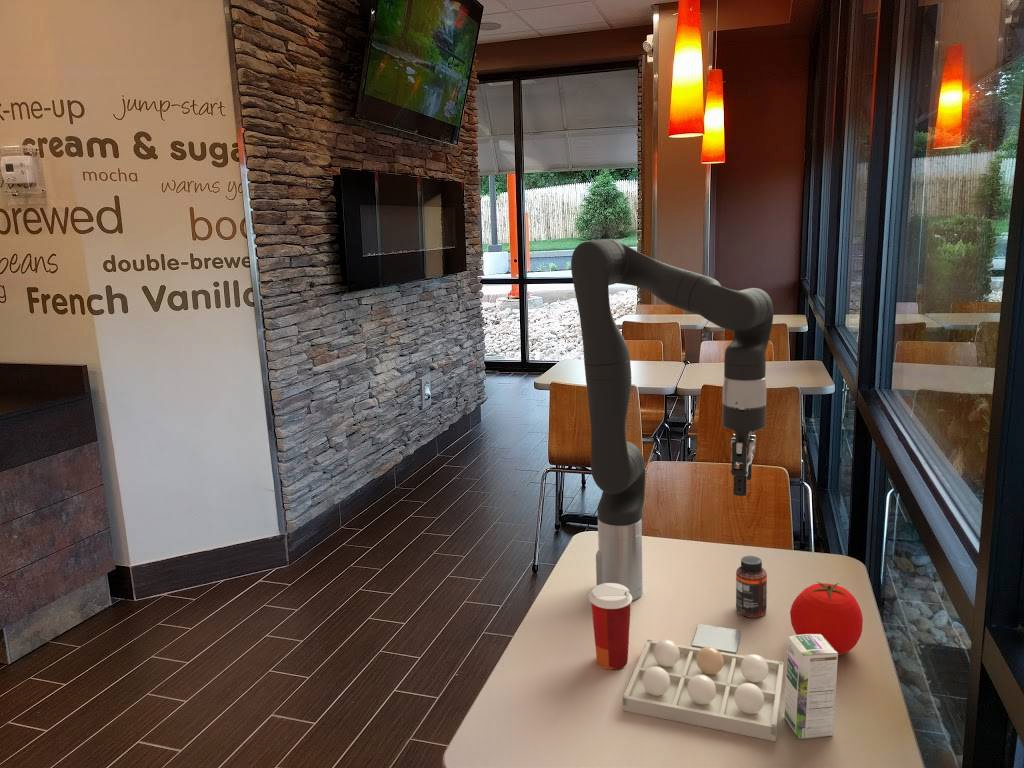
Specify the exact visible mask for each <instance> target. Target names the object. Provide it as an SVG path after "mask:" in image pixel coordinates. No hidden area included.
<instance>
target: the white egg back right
mask: <svg viewBox="0 0 1024 768" xmlns="http://www.w3.org/2000/svg"><path fill="white" fill-rule="evenodd" d="M745 656H746V657H744V658H743V660H742V662H741V666H740V668H741V672H742V675H743V676H744V677H745V678H746V679H747V680H748V681H750V682H754V683H758V682H762V681H763V680H765V678H766V677H767V675H768V672H769V668H768V664H767V662H766V661H765V659H766V658H764V657H763V656H761V655H759V654H756V653H750V654H747V655H745Z"/></svg>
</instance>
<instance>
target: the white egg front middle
mask: <svg viewBox="0 0 1024 768" xmlns="http://www.w3.org/2000/svg"><path fill="white" fill-rule="evenodd" d="M687 691H688V694H689V696H690V698H691V699H692V700H693V701H694V702H695V703H697V704H701V705H705V704H708V703H710V702H711V701H712V700H713V699H714V698H715V695H716V687H715V684H714V682H713V681H712V680H711V679H710V678H709V677H708V676H705V675H696V676H694V677H692V678H691V679H690V681H689V682H688V686H687Z"/></svg>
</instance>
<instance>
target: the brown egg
mask: <svg viewBox="0 0 1024 768" xmlns="http://www.w3.org/2000/svg"><path fill="white" fill-rule="evenodd" d="M696 661H697V665H698V667H699V669H700V670H701V671H702V672H704V673H705V674H709V675H714V674H717V673H718V672H720V670H721V669H722V667H723V663H724V661H723V657H722V654H721V653H720V652H719V651H718V650H717V649H715V648H713V647H705V648H702V649H701V650H700V651H699V652H698V654H697V658H696Z"/></svg>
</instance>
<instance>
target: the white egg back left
mask: <svg viewBox="0 0 1024 768" xmlns="http://www.w3.org/2000/svg"><path fill="white" fill-rule="evenodd" d="M658 641H659V640H658ZM676 644H677V643H676V642H674V641H673V640H670V639H661V640H660V641H659V642H658V643H657V644H656V645H655V647H654V658H655V660H656V661H657V662H658V663H659V664H660V665H661V666H664V667H671V666H673V665H675V664H676V663H677V662H678V660H679V657H680V651H679V648H678V646H677V645H678V644H677V645H676Z"/></svg>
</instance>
